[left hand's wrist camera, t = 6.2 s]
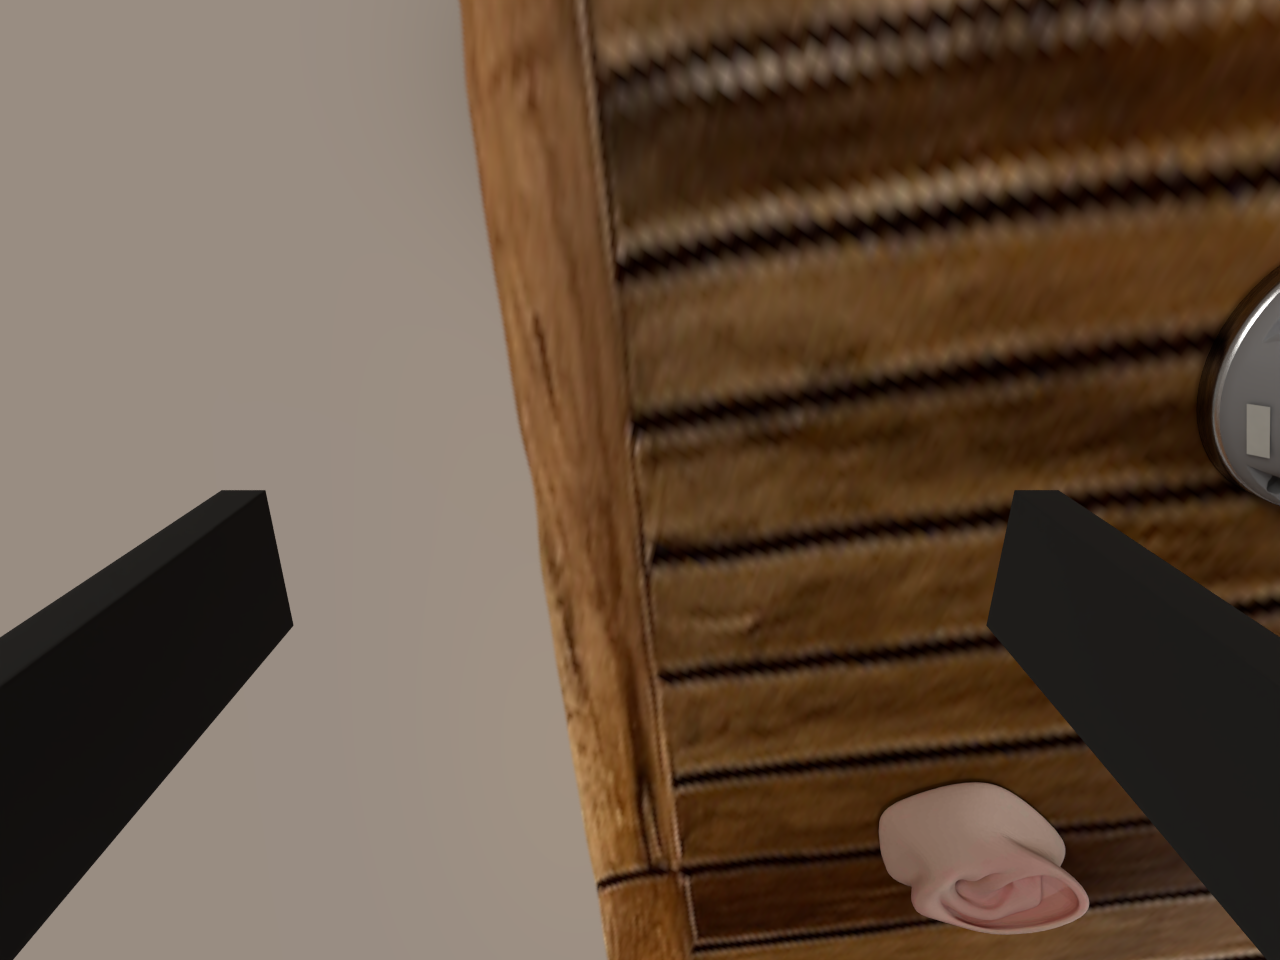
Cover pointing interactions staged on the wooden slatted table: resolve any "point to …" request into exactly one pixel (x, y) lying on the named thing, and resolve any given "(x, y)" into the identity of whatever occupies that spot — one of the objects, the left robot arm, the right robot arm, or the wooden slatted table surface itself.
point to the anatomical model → (980, 860)
